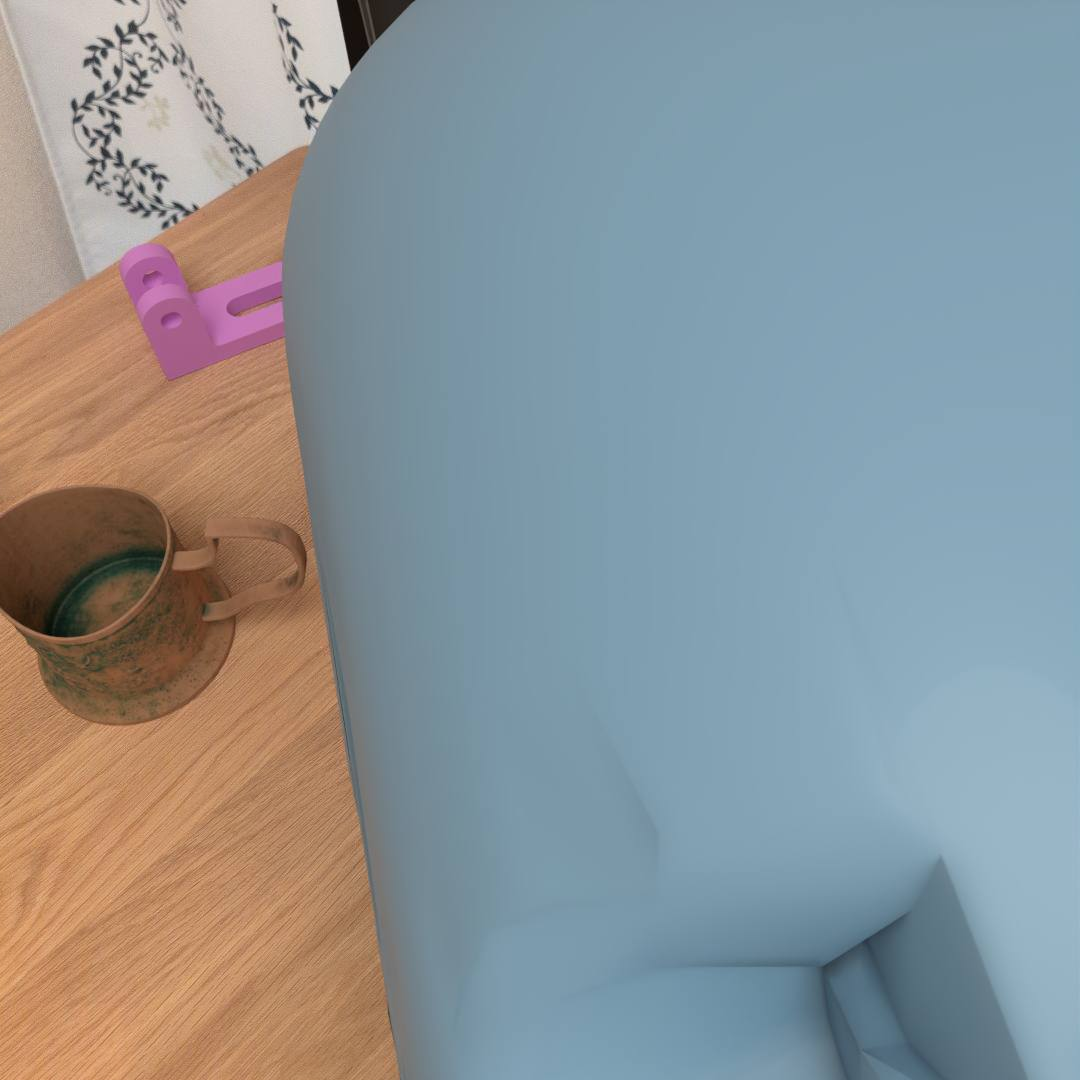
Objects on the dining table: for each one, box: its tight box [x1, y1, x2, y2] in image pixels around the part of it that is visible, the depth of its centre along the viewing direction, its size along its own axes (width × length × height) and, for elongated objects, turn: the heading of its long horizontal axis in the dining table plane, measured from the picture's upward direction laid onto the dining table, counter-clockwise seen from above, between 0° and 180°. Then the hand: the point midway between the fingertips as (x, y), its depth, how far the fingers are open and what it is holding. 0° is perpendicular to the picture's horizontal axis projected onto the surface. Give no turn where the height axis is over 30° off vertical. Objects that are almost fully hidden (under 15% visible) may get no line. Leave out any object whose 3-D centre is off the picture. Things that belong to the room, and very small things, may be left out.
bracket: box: [118, 243, 285, 382], centre depth 79 cm, size 13×6×7 cm, turn 117°
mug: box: [0, 483, 308, 727], centre depth 64 cm, size 12×18×12 cm, turn 90°
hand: (402, 156), depth 62 cm, fingers open, 13 cm apart
